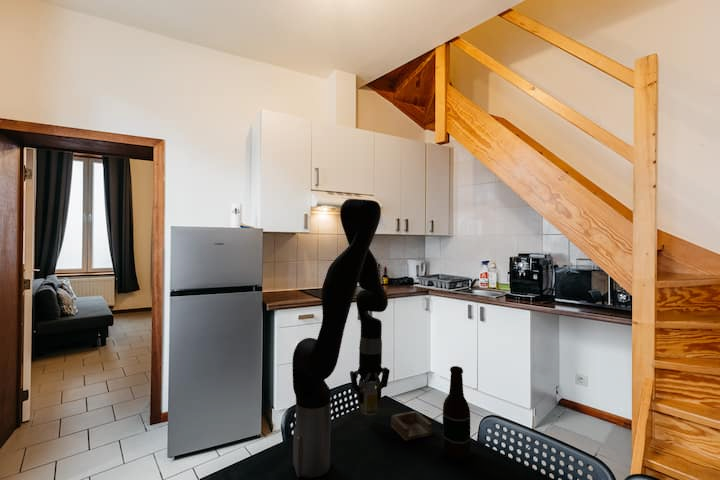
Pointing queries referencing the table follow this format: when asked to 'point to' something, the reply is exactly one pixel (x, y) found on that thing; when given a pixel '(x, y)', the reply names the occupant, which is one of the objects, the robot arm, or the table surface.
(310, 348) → the robot arm
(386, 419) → the table surface
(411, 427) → the u holder
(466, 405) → the beer bottle
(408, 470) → the table surface
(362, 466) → the table surface
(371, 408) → the supplement bottle
